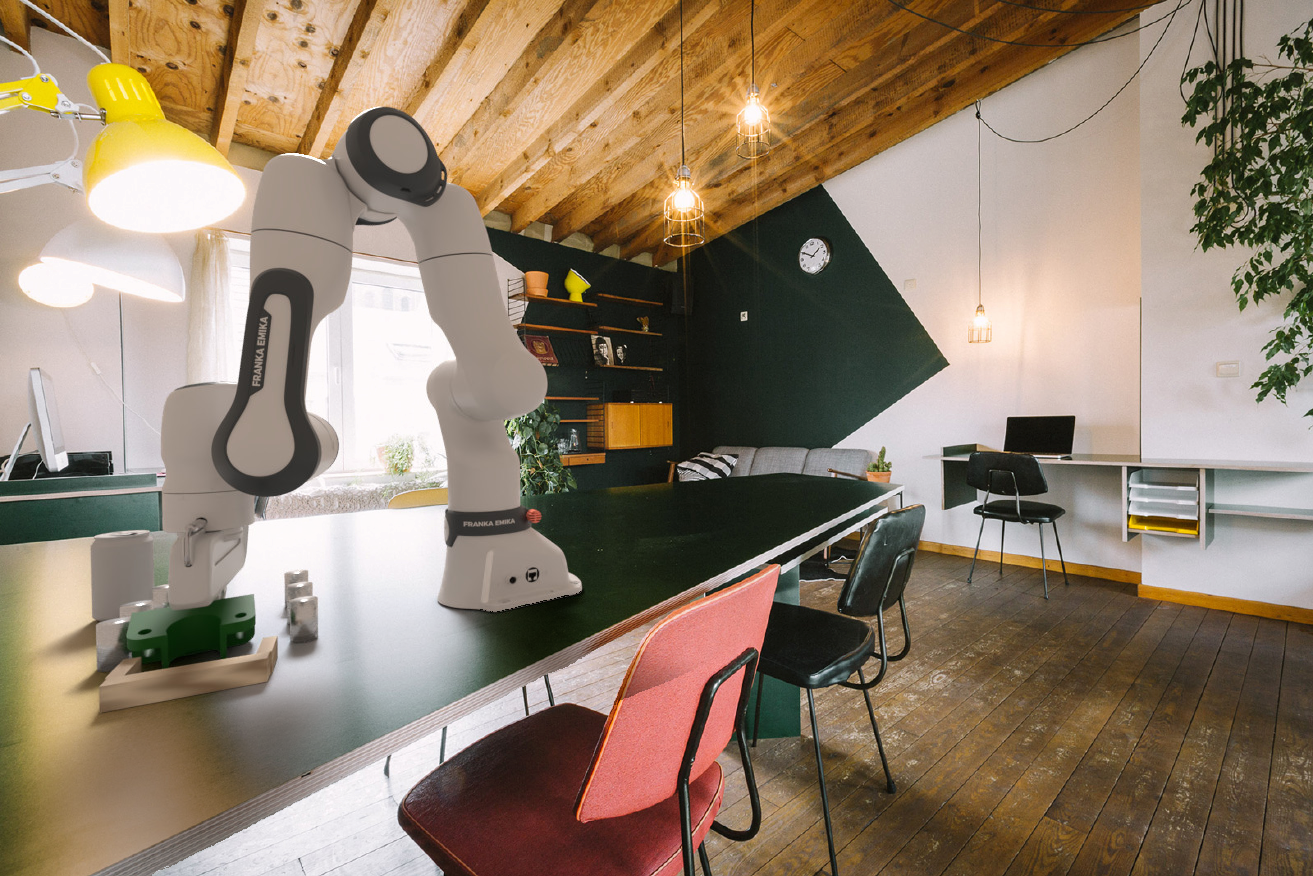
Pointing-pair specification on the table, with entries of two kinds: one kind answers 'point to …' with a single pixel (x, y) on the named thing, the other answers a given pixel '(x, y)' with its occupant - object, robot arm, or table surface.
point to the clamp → (191, 630)
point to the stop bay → (184, 678)
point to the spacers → (115, 630)
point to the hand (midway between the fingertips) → (212, 623)
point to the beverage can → (120, 571)
